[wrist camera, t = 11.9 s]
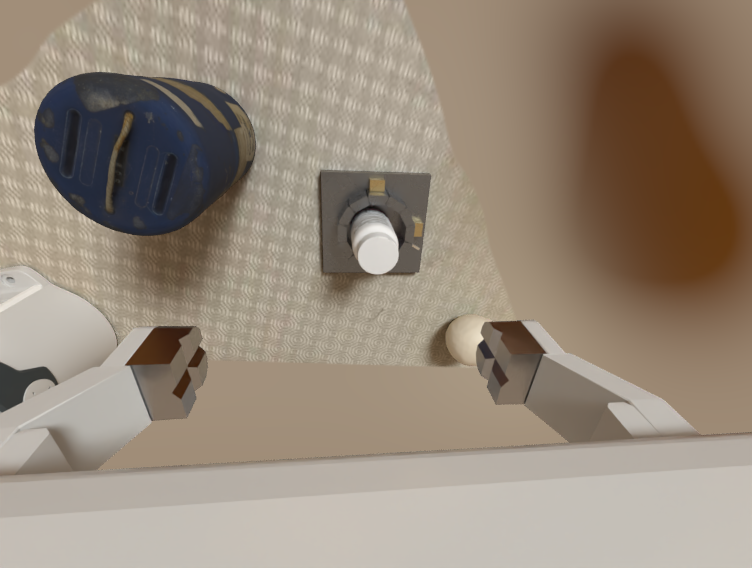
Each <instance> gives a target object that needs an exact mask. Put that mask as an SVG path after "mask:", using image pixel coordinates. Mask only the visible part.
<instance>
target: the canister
mask: <svg viewBox="0 0 752 568" xmlns="http://www.w3.org/2000/svg"><path fill="white" fill-rule="evenodd" d="M34 133H35V145H36V149H37V153H38V156H39V159H40V162H41V164H42V166H43V168H44V170H45V172H46V174H47V176H48V178H49V179H50V181H51V182H52V184H53V185H54V186H55V188H56V189H57V190H58V191H59V193H60V194H61V195H62V196H63V197H64V198H65V199H66V200H67V201H68V202H69V203H70V204H71V205H72V206H73V207H74V208H75V209H77V210H78V211H79V212H80V213H82V214H84V215H85V216H86V217H88V218H89V219H91V220H93V221H95V222H97V223H99V224H101V225H103V226H105V227H107V228H110V229H112V230H115V231H119V232H123V233H127V234H132V235H141V236H153V235H161V234H166V233H170V232H173V231H176V230H178V229H181V228H182V227H184V226H186V225H187V224H189V223H190V222H192V221H193V220H194V219H195V218H197V217H198V216H199V215H200V214H201V213H202V212H203V211H204V210H205V209H207V208H208V207H209V206H210V205H211V204H213V203H214V202H215V201H216V200H217V199H218V198H220V197H221V196H222V195H223V194H224V193H225V192H226V191H227V190H228V189H229V188H230V187H231V186H232V185H234V184H235V183H236V182H237V181H238V180H239V179H240V178H241V177H242V176H243V175H244V174H245V173H246V172H247V171H248V169H249V168H250V166H251V164H252V162H253V159H254V156H255V149H256V140H255V134H254V130H253V127H252V124H251V122H250V120H249V118H248V116H247V114H246V113H245V111H244V110H243V108H242V107H241V106H240V105H239V104H238V103H237V102H236V101H235V100H234V99H233V98H232V97H231V96H230V95H228V94H227V93H226V92H224V91H223V90H221V89H219V88H217V87H215V86H212V85H209V84H205V83H201V82H192V81H187V80H181V79H174V78H163V77H152V78H151V77H144V76H132V75H123V74H118V73H109V72H93V73H85V74H80V75H77V76H74V77H71V78H68V79H66V80H64V81H63V82H61V83H59V84H58V85H56V86H55V87H54V88H52V89H51V90H50V91H49V92H48V93H47V95H46V97H45V98H44V99H43V101H42V102H41V105H40V107H39V109H38V112H37V115H36V119H35V127H34Z"/></svg>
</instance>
